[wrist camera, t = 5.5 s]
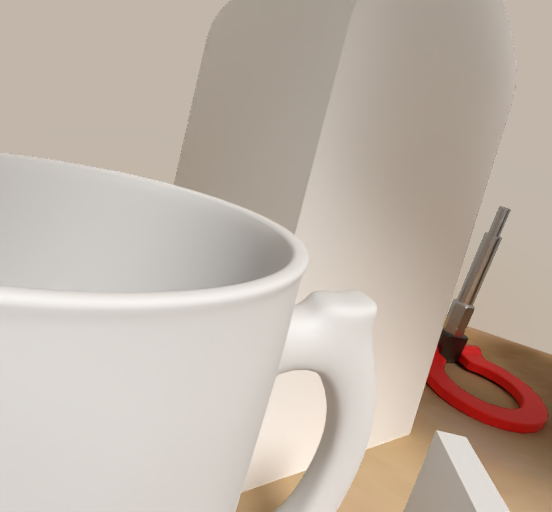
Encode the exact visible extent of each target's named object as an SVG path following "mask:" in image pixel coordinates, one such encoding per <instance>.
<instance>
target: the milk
mask: <svg viewBox="0 0 552 512" xmlns="http://www.w3.org/2000/svg"><path fill="white" fill-rule="evenodd" d="M516 72H517V69H516V57H515V48H514V44H513V38H512V33H511V28H510V24H509V20H508V16H507V12H506V7H505V3H504V0H230V1H229V2H228V3H227V4H226V5H225V6H224V7H223V8H222V9H221V11H220V12H219V13H218V15H217V16H216V18H215V19H214V21H213V23H212V25H211V28H210V30H209V33H208V36H207V40H206V44H205V49H204V53H203V57H202V62H201V67H200V71H199V75H198V80H197V84H196V88H195V93H194V97H193V102H192V106H191V111H190V115H189V119H188V124H187V128H186V133H185V137H184V141H183V146H182V150H181V155H180V160H179V164H178V168H177V172H176V177H175V181H174V185H176V186H180V187H184V188H187V189H191V190H194V191H197V192H201V193H204V194H207V195H210V196H213V197H216V198H219V199H222V200H225V201H228V202H230V203H233V204H236V205H238V206H241V207H243V208H246V209H248V210H251V211H253V212H255V213H257V214H260V215H262V216H264V217H266V218H268V219H270V220H272V221H274V222H276V223H277V224H279V225H281V226H283V227H284V228H286V229H287V230H289V231H290V232H292V233H293V234H294V235H295V236H296V237H298V238H299V239H300V241H301V242H302V243H303V244H304V246H305V248H306V249H307V252H308V255H309V263H308V267H307V269H306V271H305V273H304V274H303V276H302V279H301V282H300V286H299V290H298V293H297V297H296V301H295V305H296V304H298V303H300V302H302V301H303V300H304V299H305V298H306V297H307V296H308V295H309V294H310V293H312V292H313V291H333V292H336V291H344V290H357V291H360V292H363V293H365V294H366V295H367V296H369V297H370V298H371V299H373V301H374V302H375V303H376V305H377V315H376V317H375V320H374V324H373V332H372V341H373V353H374V363H375V382H376V396H375V411H374V419H373V425H372V429H371V434H370V438H369V441H368V445H367V448H366V449H368V448H371V447H374V446H377V445H380V444H383V443H386V442H389V441H391V440H394V439H397V438H400V437H403V436H406V435H409V434H410V432H411V429H412V426H413V422H414V419H415V416H416V413H417V409H418V406H419V403H420V400H421V397H422V393H423V390H424V387H425V384H426V380H427V377H428V374H429V371H430V367H431V364H432V361H433V358H434V354H435V351H436V348H437V345H438V342H439V338H440V335H441V332H442V329H443V325H444V322H445V319H446V316H447V312H448V309H449V306H450V303H451V299H452V296H453V293H454V290H455V286H456V283H457V280H458V277H459V274H460V270H461V267H462V264H463V260H464V257H465V254H466V251H467V248H468V244H469V241H470V238H471V235H472V231H473V228H474V225H475V222H476V219H477V215H478V212H479V209H480V205H481V202H482V199H483V196H484V193H485V189H486V186H487V183H488V180H489V176H490V173H491V170H492V167H493V164H494V160H495V157H496V154H497V150H498V147H499V144H500V141H501V138H502V134H503V131H504V128H505V125H506V121H507V118H508V115H509V112H510V109H511V105H512V100H513V96H514V92H515V88H516ZM326 411H327V405H326V395H325V390H324V386H323V383H322V380H321V378H320V376H319V375H318V374H317V373H316V372H313V371H309V370H293V371H289V372H285V373H282V374H279V375H277V376H276V378H275V381H274V385H273V388H272V391H271V395H270V398H269V402H268V405H267V409H266V412H265V415H264V419H263V422H262V425H261V429H260V432H259V435H258V439H257V442H256V446H255V449H254V452H253V456H252V459H251V462H250V466H249V469H248V472H247V476H246V479H245V482H244V486H243V489H242V492H245V491H247V490H250V489H253V488H256V487H259V486H262V485H265V484H268V483H271V482H273V481H276V480H279V479H282V478H285V477H288V476H291V475H294V474H296V473H299V472H302V471H305V470H307V468H308V467H309V465H310V463H311V461H312V459H313V457H314V455H315V453H316V450H317V448H318V445H319V443H320V440H321V437H322V434H323V431H324V426H325V421H326ZM242 492H241V493H242Z"/></svg>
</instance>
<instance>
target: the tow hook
mask: <svg viewBox="0 0 552 512" xmlns="http://www.w3.org/2000/svg"><path fill="white" fill-rule="evenodd" d="M510 211H511V210H510V209H508V208H505V207H501V206H500V207H499V209H498V211H497V213H496V216H495V218H494V221H493V223H492V225H491V228H490V230H489V232H488V233H485V234H484V236H483V239H482V241H481V243H480V246H479V248H478V251H477V253H476V255H475V258H474V260H473V263H472V265H471V267H470V270H469V272H468V274H467V277H466V279H465V282H464V284H463V287H462V289H461V291H460V293H459V296H458V298H457V299H454V301H453V302H452V305H451V307H450V310H449V312H448V314H447V317H446V320H445V322H444V325H443V329H442V332H441V335H440V338H439V342H438V345H437V348H436V351H435V354H434V358H433V361H432V364H431V367H430V371H429V374H428V377H427V380H426V382H427V383H428V385H429V386H430V387H431V388H432V389H433V390H434V391H435V392H436V393H437V394H438V395H439V396H440V397H441V398H443V399H444V400H445V401H447V402H448V403H449V404H450V405H452V406H453V407H455V408H456V409H458V410H460V411H461V412H463V413H465V414H467V415H468V416H470V417H472V418H474V419H477V420H479V421H481V422H483V423H485V424H488V425H491V426H494V427H497V428H500V429H503V430H506V431H512V432H518V433H535V432H537V431H539V430H541V429H542V428H543V426H544V424H545V422H546V420H547V418H548V411H547V408H546V406H545V404H544V403H543V401H542V400H541V398H540V397H539V396H538V395H537V394H536V393H535V392H534V391H533V390H532V389H531V388H530V387H529V386H528V385H526V384H525V383H524V382H522V381H521V380H520V379H519V378H517V377H516V376H514V375H512V374H511V373H509V372H508V371H506V370H504V369H503V368H501V367H499V366H497V365H495V364H493V363H491V362H489V361H487V360H486V359H485V358H483V357H482V356H481V355H482V354H481V350H480V348H479V347H477V346H474V345H466V343H467V340H468V337H466V336H465V335H464V332H465V329H466V328H467V325H468V323H469V321H470V319H471V316H472V314H473V312H474V306H473V304H474V301H475V299H476V296H477V294H478V292H479V290H480V288H481V285H482V283H483V281H484V278H485V276H486V274H487V271H488V269H489V267H490V264H491V262H492V260H493V258H494V255H495V253H496V251H497V248H498V246H499V244H500V242H501V239H502V238H501V237H500V234H501V231H502V229H503V227H504V224H505V222H506V219H507V217H508V215H509V213H510ZM457 361H458V362H460V363H461V364H462V365H463V366H464V367H466V368H467V369H468V370H470V371H473V372H476V373H478V374H481V375H483V376H485V377H487V378H489V379H491V380H492V381H494V382H496V383H497V384H499V385H500V386H502V387H503V388H504V389H506V390H507V391H508V392H509V393H510V394H511V395H512V396H513V397H514V398H515V399H516V400H517V402H518V403H519V405H520V408H518V409H507V408H501V407H498V406H495V405H492V404H489V403H487V402H484V401H482V400H480V399H478V398H476V397H474V396H472V395H471V394H469V393H467V392H466V391H464V390H463V389H461V388H460V387H459V386H457V385H456V384H455V383H454V382H453V381H452V380H451V379H450V378H449V377H448V376H447V375H446V373H445V371H444V367H445V365H446V362H451V363H455V362H457Z"/></svg>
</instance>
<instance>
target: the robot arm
mask: <svg viewBox="0 0 552 512" xmlns="http://www.w3.org/2000/svg"><path fill="white" fill-rule="evenodd" d="M404 512H510V511H509V509H508V507H507V506H506V504H505V502H504V501H503V499H502V497H501V495H500V494H499V492H498V490H497V489H496V487H495V485H494V484H493V482H492V480H491V478H490V477H489V475H488V473H487V472H486V470H485V468H484V467H483V465H482V463H481V461H480V460H479V458H478V456H477V455H476V453H475V451H474V450H473V448H472V446H471V444H470V443H469V441H468V439H467V438H466V437H463V436H459V435H455V434H451V433H446V432H442V431H438V430H436V432H435V434H434V437H433V439H432V442H431V444H430V447H429V449H428V452H427V454H426V457H425V459H424V462H423V464H422V467H421V469H420V472H419V474H418V477H417V479H416V482H415V484H414V487H413V489H412V492H411V494H410V497H409V499H408V502H407V504H406V507H405V509H404Z"/></svg>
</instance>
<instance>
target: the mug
mask: <svg viewBox="0 0 552 512" xmlns="http://www.w3.org/2000/svg"><path fill="white" fill-rule="evenodd" d="M308 263H309V255H308V252H307V249H306V248H305V246H304V244H303V243H302V242H301V241H300V239H299V238H298V237H296V236H295V235H294V234H293V233H292V232H290V231H289V230H287V229H286V228H284V227H283V226H281V225H279V224H277V223H276V222H274V221H272V220H270V219H268V218H266V217H264V216H262V215H260V214H257V213H255V212H253V211H251V210H248V209H246V208H243V207H241V206H238V205H236V204H233V203H230V202H228V201H225V200H222V199H219V198H216V197H213V196H210V195H207V194H204V193H201V192H197V191H194V190H191V189H187V188H184V187H180V186H176V185H173V184H169V183H165V182H161V181H157V180H153V179H149V178H145V177H141V176H136V175H131V174H127V173H123V172H118V171H113V170H108V169H103V168H98V167H93V166H88V165H82V164H77V163H71V162H65V161H59V160H53V159H47V158H41V157H34V156H26V155H20V154H12V153H5V152H0V512H236V509H237V506H238V502H239V499H240V496H241V492H242V489H243V486H244V482H245V479H246V476H247V472H248V469H249V466H250V462H251V459H252V456H253V452H254V449H255V446H256V442H257V439H258V435H259V432H260V429H261V425H262V422H263V419H264V415H265V412H266V409H267V405H268V402H269V398H270V395H271V391H272V388H273V385H274V381H275V378H276V376H277V375H279V374H282V373H285V372H289V371H293V370H309V371H313V372H316V373H317V374H318V375H319V376H320V378H321V380H322V383H323V386H324V390H325V395H326V405H327V411H326V421H325V426H324V431H323V434H322V437H321V440H320V443H319V445H318V448H317V450H316V453H315V455H314V457H313V459H312V461H311V463H310V465H309V467H308V468H307V470H306V472H305V474H304V475H303V477H302V479H301V480H300V482H299V483H298V485H297V486H296V488H295V489H294V490H293V492H292V493H291V494H290V495H289V497H288V498H287V499H286V500H285V501H284V502H283V503H282V504H281V505H280V506H279V507H278V508H277V509H276V510H275V511H274V512H336V511H337V510H338V508H339V506H340V504H341V503H342V501H343V499H344V497H345V495H346V494H347V492H348V490H349V488H350V486H351V484H352V482H353V480H354V478H355V475H356V473H357V471H358V469H359V466H360V464H361V461H362V459H363V456H364V453H365V451H366V448H367V445H368V441H369V438H370V434H371V429H372V425H373V419H374V411H375V396H376V382H375V363H374V353H373V341H372V332H373V324H374V320H375V317H376V315H377V305H376V303H375V302H374V301H373V299H371V298H370V297H369V296H367V295H366V294H365V293H363V292H360V291H357V290H344V291H336V292H333V291H313V292H312V293H310V294H309V295H308V296H307V297H306V298H305V299H304V300H303V301H302V302H300V303H298V304H296V305H295V301H296V297H297V293H298V290H299V286H300V282H301V279H302V276H303V274H304V273H305V271H306V269H307V267H308Z"/></svg>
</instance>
